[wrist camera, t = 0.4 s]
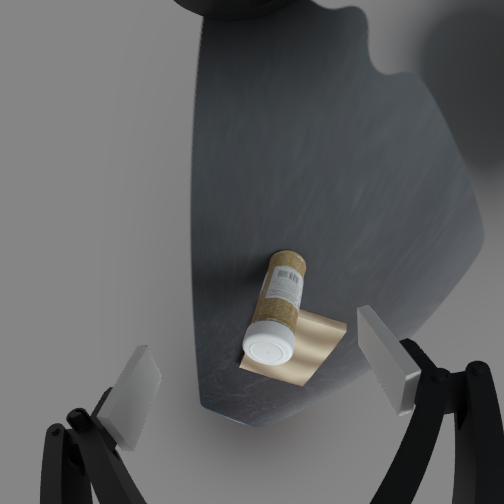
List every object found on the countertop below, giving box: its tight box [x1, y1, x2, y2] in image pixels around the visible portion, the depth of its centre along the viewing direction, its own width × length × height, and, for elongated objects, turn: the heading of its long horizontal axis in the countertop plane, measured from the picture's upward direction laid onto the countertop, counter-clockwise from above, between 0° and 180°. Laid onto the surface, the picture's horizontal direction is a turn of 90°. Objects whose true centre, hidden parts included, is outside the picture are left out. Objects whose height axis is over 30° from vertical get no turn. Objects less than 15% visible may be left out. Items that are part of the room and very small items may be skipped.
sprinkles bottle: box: [243, 250, 306, 365], centre depth 29 cm, size 5×5×14 cm
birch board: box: [240, 309, 346, 386], centre depth 42 cm, size 17×12×2 cm
